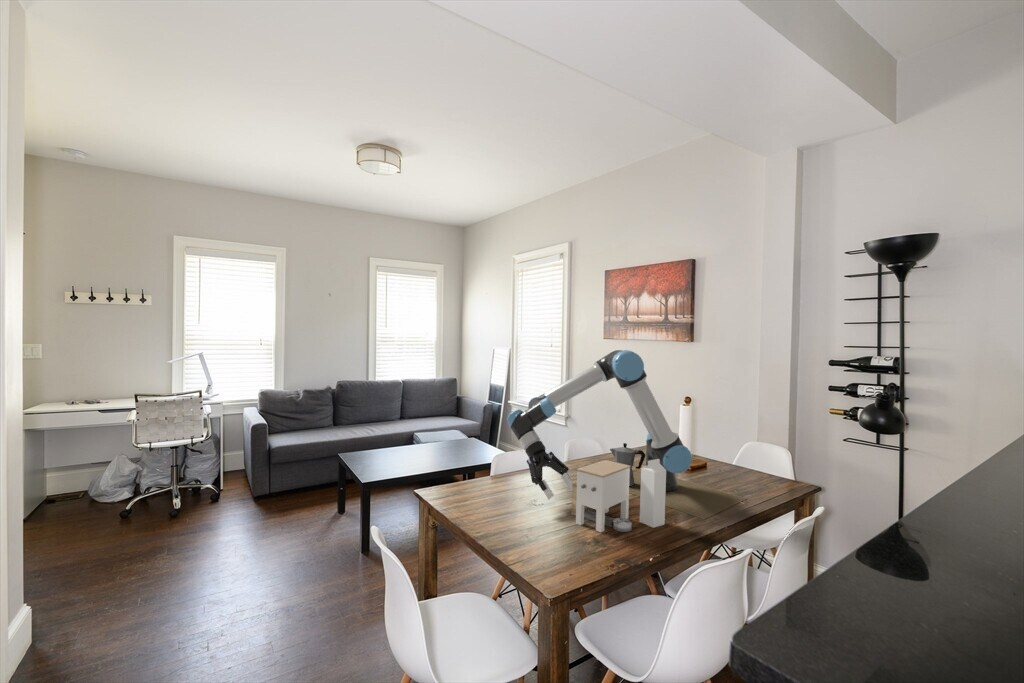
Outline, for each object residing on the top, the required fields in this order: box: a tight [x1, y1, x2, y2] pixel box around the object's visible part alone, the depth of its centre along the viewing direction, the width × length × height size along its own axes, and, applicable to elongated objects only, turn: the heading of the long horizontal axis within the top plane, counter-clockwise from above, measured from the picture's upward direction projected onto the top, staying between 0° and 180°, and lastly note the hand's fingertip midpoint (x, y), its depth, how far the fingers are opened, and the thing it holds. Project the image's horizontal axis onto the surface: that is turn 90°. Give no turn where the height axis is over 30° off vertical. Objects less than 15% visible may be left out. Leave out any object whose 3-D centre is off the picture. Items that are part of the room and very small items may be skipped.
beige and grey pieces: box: [571, 481, 615, 528], centre depth 159 cm, size 4×16×11 cm, turn 47°
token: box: [612, 517, 633, 533], centre depth 152 cm, size 6×6×2 cm
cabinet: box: [575, 459, 631, 533], centre depth 158 cm, size 19×10×19 cm, turn 137°
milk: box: [639, 459, 667, 529], centre depth 157 cm, size 6×6×22 cm
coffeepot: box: [609, 443, 646, 487], centre depth 200 cm, size 15×9×18 cm, turn 70°
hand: (562, 493), depth 168 cm, fingers open, 13 cm apart
